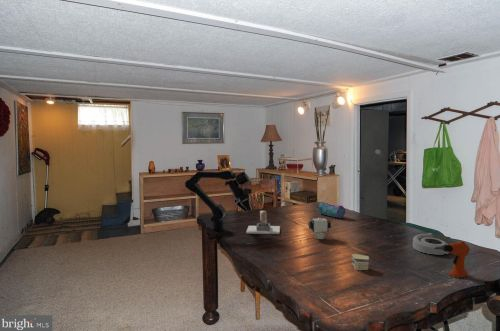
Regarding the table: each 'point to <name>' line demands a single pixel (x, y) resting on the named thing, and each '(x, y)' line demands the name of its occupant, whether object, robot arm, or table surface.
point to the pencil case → (331, 210)
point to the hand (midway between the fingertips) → (247, 211)
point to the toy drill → (457, 257)
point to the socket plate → (263, 229)
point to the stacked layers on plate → (360, 262)
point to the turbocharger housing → (428, 244)
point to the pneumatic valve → (319, 227)
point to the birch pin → (263, 218)
